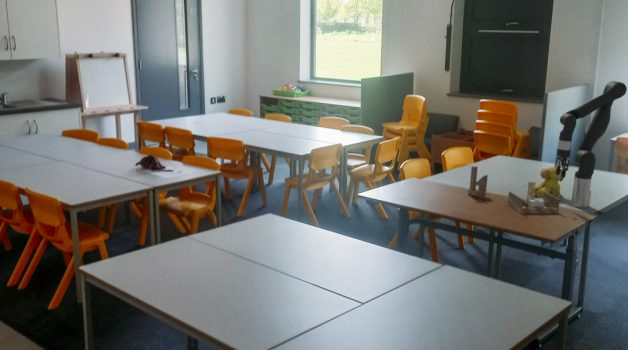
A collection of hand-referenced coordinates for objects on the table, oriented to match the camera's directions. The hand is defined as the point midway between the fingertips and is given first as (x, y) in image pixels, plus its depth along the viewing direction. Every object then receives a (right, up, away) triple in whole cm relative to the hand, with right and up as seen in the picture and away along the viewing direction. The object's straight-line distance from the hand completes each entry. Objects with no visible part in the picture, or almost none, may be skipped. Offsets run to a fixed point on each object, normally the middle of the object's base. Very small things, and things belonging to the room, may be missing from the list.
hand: (560, 175), depth 384 cm
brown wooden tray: (-19, -20, -8) cm, 29 cm away
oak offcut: (-19, -20, -12) cm, 30 cm away
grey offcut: (-18, -17, -13) cm, 28 cm away
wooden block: (-43, -13, +22) cm, 50 cm away
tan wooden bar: (-19, -18, -5) cm, 27 cm away
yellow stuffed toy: (+2, -13, +28) cm, 30 cm away
